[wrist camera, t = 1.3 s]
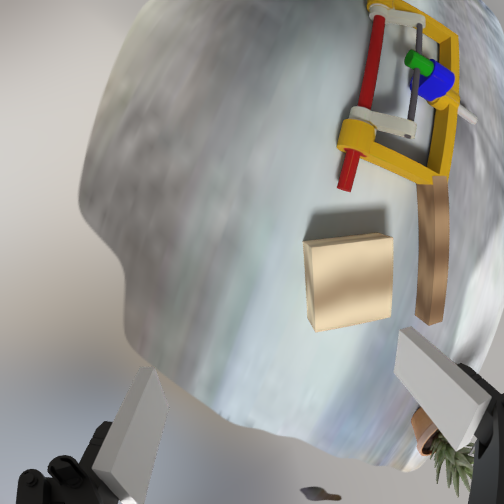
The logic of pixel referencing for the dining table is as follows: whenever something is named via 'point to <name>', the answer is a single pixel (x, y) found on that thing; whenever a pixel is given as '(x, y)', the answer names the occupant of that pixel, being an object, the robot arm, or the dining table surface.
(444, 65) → the mechanical clamp
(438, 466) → the potted plant
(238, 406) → the dining table surface
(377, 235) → the block
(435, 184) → the board
